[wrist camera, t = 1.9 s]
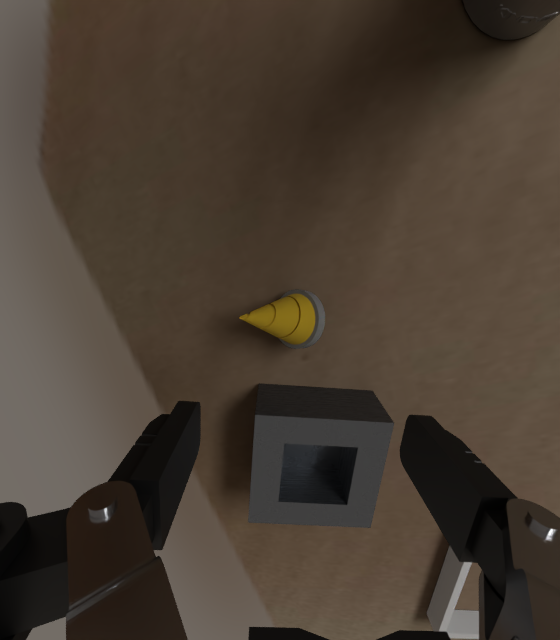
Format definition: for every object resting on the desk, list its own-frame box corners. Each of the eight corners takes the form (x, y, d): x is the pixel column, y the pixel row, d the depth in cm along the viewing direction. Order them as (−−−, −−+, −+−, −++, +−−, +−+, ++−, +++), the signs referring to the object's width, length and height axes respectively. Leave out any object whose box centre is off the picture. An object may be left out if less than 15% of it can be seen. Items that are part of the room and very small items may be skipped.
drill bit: (302, 349, 28) (223, 358, 21) (294, 301, 29) (215, 293, 22) (347, 341, 25) (270, 348, 18) (336, 286, 26) (258, 270, 18)
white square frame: (460, 514, 34) (474, 534, 32) (587, 520, 35) (610, 540, 32) (426, 613, 39) (436, 637, 37) (537, 617, 40) (554, 640, 38)
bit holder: (258, 383, 29) (255, 414, 23) (372, 390, 29) (394, 423, 24) (252, 476, 32) (248, 522, 27) (354, 481, 33) (370, 527, 27)
